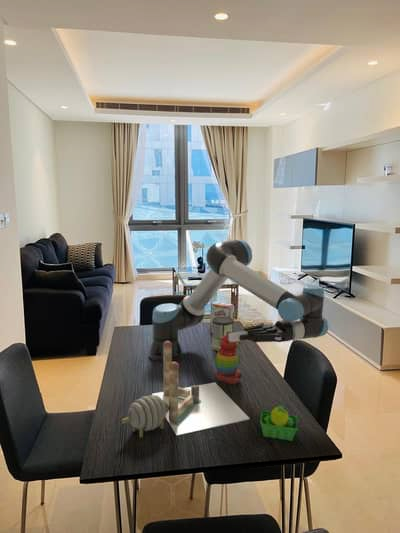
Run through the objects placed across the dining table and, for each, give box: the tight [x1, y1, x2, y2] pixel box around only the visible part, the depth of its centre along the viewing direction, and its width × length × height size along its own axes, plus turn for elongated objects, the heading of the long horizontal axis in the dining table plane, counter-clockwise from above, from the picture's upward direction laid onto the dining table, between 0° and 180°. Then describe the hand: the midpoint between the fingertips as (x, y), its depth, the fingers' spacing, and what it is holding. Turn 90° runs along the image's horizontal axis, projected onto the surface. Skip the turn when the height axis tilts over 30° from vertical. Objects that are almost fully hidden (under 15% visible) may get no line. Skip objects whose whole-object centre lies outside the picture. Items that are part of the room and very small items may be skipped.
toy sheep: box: [121, 394, 169, 438], centre depth 130 cm, size 11×17×11 cm, turn 133°
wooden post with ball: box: [162, 341, 199, 403], centre depth 149 cm, size 15×3×21 cm, turn 66°
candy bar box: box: [209, 301, 234, 334], centre depth 219 cm, size 11×5×16 cm, turn 66°
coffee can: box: [211, 317, 235, 352], centre depth 199 cm, size 10×10×14 cm
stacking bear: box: [215, 334, 242, 385], centre depth 167 cm, size 11×10×18 cm
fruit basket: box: [259, 405, 299, 441], centre depth 129 cm, size 11×9×11 cm
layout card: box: [151, 382, 251, 437], centre depth 146 cm, size 28×26×1 cm
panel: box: [168, 361, 193, 422], centre depth 138 cm, size 14×3×20 cm, turn 152°
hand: (229, 337), depth 140 cm, fingers closed
